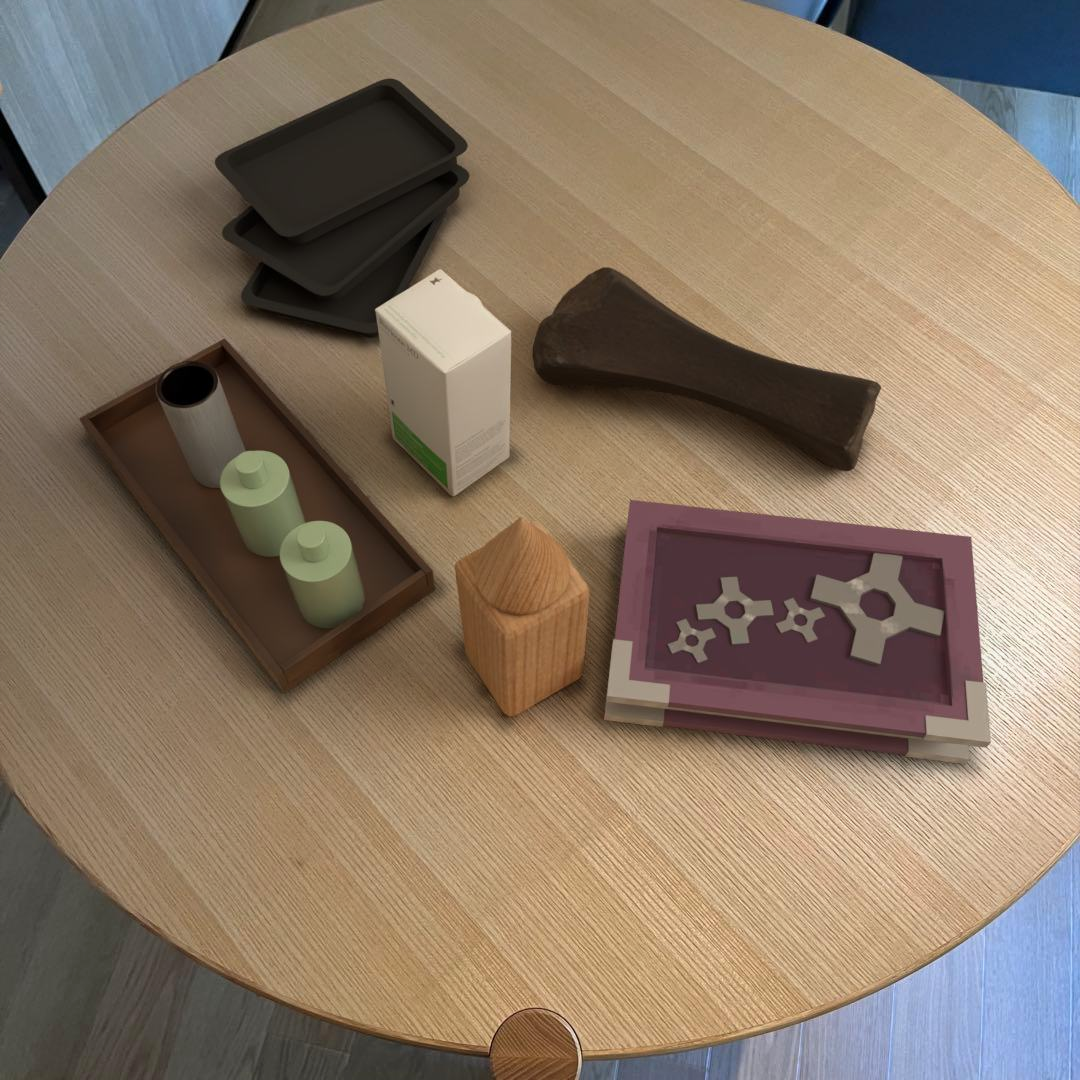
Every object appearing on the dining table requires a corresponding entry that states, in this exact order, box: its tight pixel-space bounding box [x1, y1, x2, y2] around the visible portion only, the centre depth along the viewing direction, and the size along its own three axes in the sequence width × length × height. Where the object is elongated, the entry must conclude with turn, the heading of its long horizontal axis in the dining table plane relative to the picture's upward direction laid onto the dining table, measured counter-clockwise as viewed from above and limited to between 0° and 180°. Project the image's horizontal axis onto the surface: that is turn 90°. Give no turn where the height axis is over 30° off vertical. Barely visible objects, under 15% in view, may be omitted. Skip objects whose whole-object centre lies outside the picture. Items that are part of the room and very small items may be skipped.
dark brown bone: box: [531, 266, 882, 472], centre depth 93 cm, size 11×10×28 cm
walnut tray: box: [79, 337, 436, 694], centre depth 88 cm, size 14×30×3 cm, turn 39°
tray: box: [214, 78, 470, 338], centre depth 105 cm, size 30×23×5 cm
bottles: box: [220, 451, 365, 629], centre depth 82 cm, size 5×13×9 cm, turn 40°
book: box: [603, 499, 992, 765], centre depth 81 cm, size 25×16×5 cm, turn 82°
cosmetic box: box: [375, 268, 512, 497], centre depth 86 cm, size 8×7×16 cm
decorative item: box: [454, 516, 590, 718], centre depth 74 cm, size 7×7×20 cm
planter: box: [156, 360, 246, 488], centre depth 86 cm, size 4×4×10 cm
